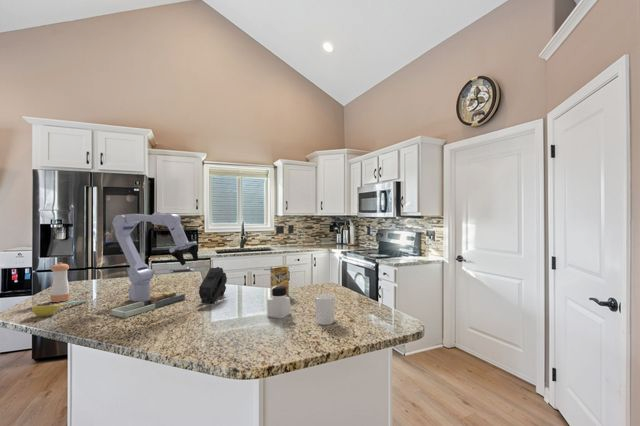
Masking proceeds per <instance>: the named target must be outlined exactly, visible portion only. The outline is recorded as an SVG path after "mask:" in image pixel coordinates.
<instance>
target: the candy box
mask: <svg viewBox="0 0 640 426" xmlns="http://www.w3.org/2000/svg"><path fill="white" fill-rule="evenodd" d="M269 272H270V274H269V275H270V298H272V288H273V287H275V286H284V287H285V288H286V297H289V295H290V294H289V293H290V292H289V291H290V280H289V279H290V278H289V275H290V274H289V273H290V272H289V266H288V265H279V266H271V267H270V271H269Z"/></svg>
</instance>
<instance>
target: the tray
mask: <svg viewBox="0 0 640 426" xmlns="http://www.w3.org/2000/svg"><path fill="white" fill-rule="evenodd" d="M154 309H156V308H155V304H152V305H148V306H143V301H137V302H135V303H131V304H126V305H123V306H119V307H116V308H112V309H110V315H111V316H115V317H120V318H123V319H125V318H129V317H132V316H135V315H139V314H142V313H146V312H149V311H151V310H154Z"/></svg>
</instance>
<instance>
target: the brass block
mask: <svg viewBox="0 0 640 426" xmlns="http://www.w3.org/2000/svg"><path fill="white" fill-rule="evenodd" d="M175 293H176V292H175V291H167V292H163V293H161V295H164V299H166V298H169V297H173V296H175Z"/></svg>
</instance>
